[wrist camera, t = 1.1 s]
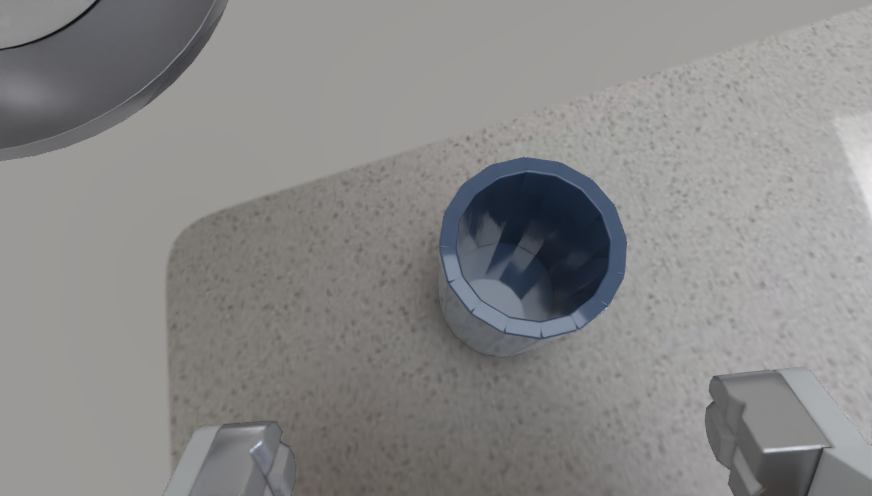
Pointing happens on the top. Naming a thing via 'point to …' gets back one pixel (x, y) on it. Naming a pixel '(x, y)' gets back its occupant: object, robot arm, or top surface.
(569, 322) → the tumbler
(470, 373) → the top surface
